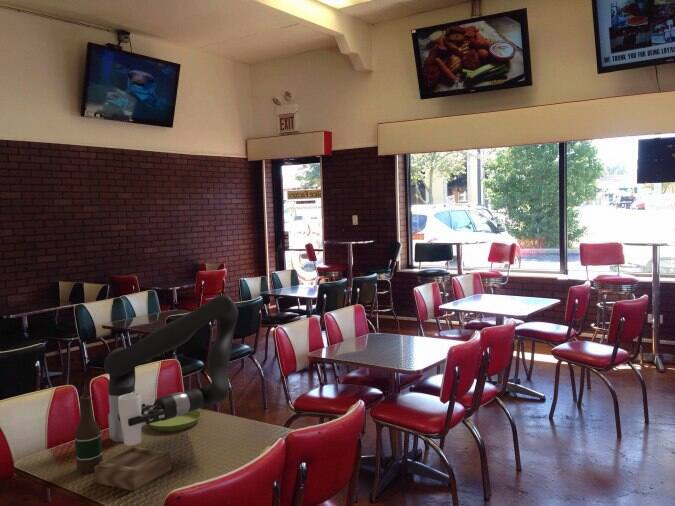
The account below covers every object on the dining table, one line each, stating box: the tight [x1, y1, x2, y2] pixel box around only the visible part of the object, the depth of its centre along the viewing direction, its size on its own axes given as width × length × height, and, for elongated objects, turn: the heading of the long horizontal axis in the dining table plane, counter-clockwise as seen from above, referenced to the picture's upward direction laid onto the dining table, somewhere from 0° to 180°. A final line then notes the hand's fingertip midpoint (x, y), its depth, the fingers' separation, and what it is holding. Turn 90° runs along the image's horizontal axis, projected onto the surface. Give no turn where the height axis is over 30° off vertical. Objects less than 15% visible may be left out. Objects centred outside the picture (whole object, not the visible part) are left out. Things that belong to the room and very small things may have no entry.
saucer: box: [148, 409, 202, 432], centre depth 233 cm, size 21×21×3 cm
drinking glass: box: [118, 392, 143, 447], centre depth 186 cm, size 7×7×15 cm
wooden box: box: [94, 445, 172, 492], centre depth 187 cm, size 16×16×6 cm
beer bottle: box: [74, 395, 104, 474], centre depth 193 cm, size 8×8×24 cm
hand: (123, 420), depth 184 cm, fingers closed on drinking glass, 6 cm apart
